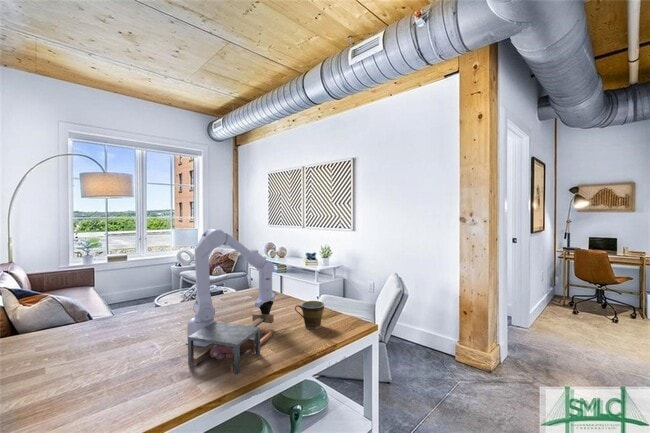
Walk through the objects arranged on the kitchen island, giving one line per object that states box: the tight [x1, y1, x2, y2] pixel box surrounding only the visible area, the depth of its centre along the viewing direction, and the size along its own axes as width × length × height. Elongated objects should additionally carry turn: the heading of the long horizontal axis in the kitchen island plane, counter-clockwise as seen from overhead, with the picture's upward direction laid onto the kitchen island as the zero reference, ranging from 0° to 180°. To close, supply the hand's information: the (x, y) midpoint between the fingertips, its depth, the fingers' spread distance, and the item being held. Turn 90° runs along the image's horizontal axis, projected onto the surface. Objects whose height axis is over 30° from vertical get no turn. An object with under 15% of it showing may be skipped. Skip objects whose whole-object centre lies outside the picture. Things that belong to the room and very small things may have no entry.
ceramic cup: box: [294, 300, 325, 331], centre depth 133 cm, size 13×10×10 cm
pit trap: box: [251, 328, 274, 347], centre depth 121 cm, size 13×14×2 cm
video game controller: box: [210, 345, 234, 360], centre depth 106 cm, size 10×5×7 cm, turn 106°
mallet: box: [193, 312, 275, 372], centre depth 115 cm, size 15×34×6 cm, turn 163°
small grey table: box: [187, 320, 261, 375], centre depth 105 cm, size 19×14×10 cm
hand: (265, 318), depth 133 cm, fingers closed
